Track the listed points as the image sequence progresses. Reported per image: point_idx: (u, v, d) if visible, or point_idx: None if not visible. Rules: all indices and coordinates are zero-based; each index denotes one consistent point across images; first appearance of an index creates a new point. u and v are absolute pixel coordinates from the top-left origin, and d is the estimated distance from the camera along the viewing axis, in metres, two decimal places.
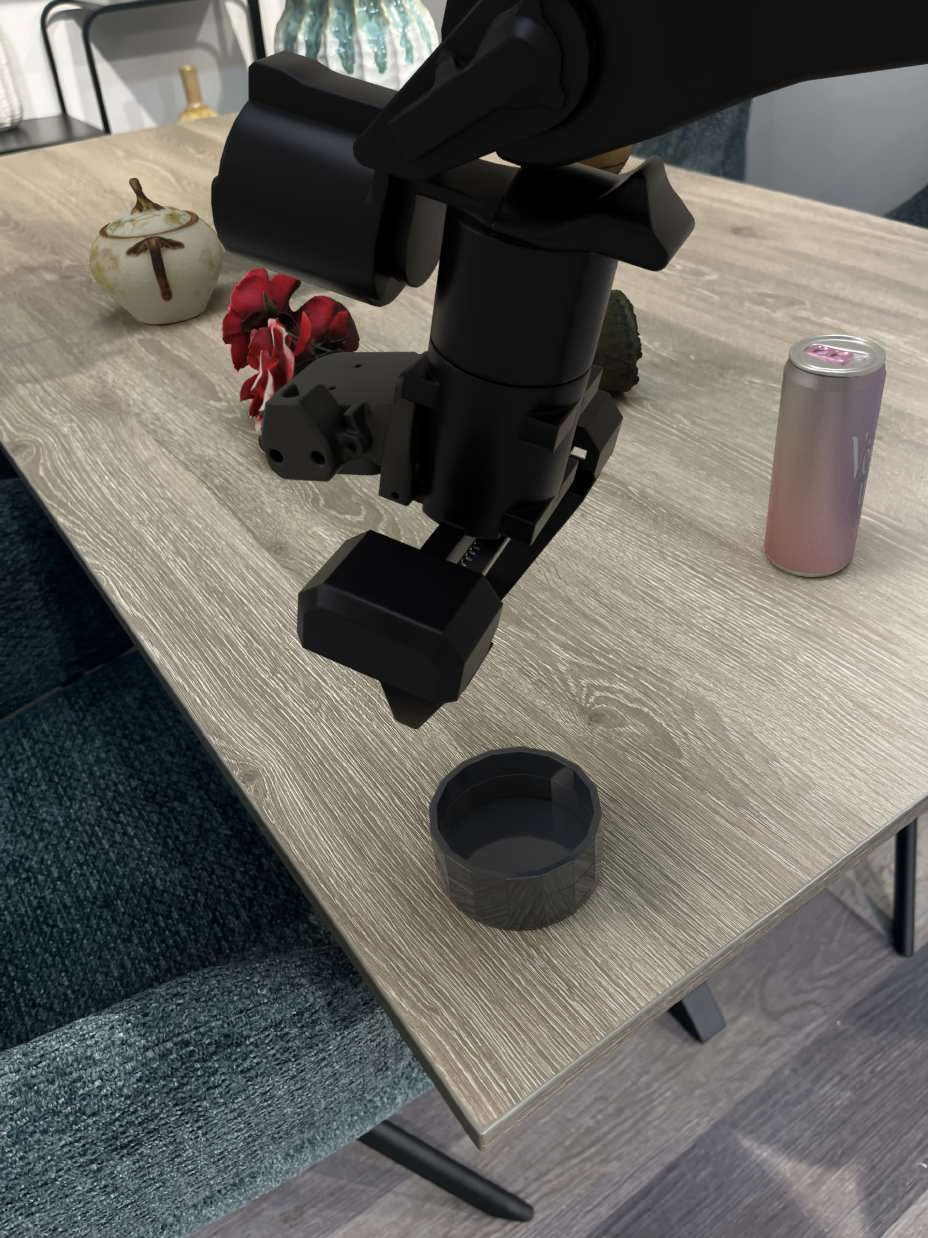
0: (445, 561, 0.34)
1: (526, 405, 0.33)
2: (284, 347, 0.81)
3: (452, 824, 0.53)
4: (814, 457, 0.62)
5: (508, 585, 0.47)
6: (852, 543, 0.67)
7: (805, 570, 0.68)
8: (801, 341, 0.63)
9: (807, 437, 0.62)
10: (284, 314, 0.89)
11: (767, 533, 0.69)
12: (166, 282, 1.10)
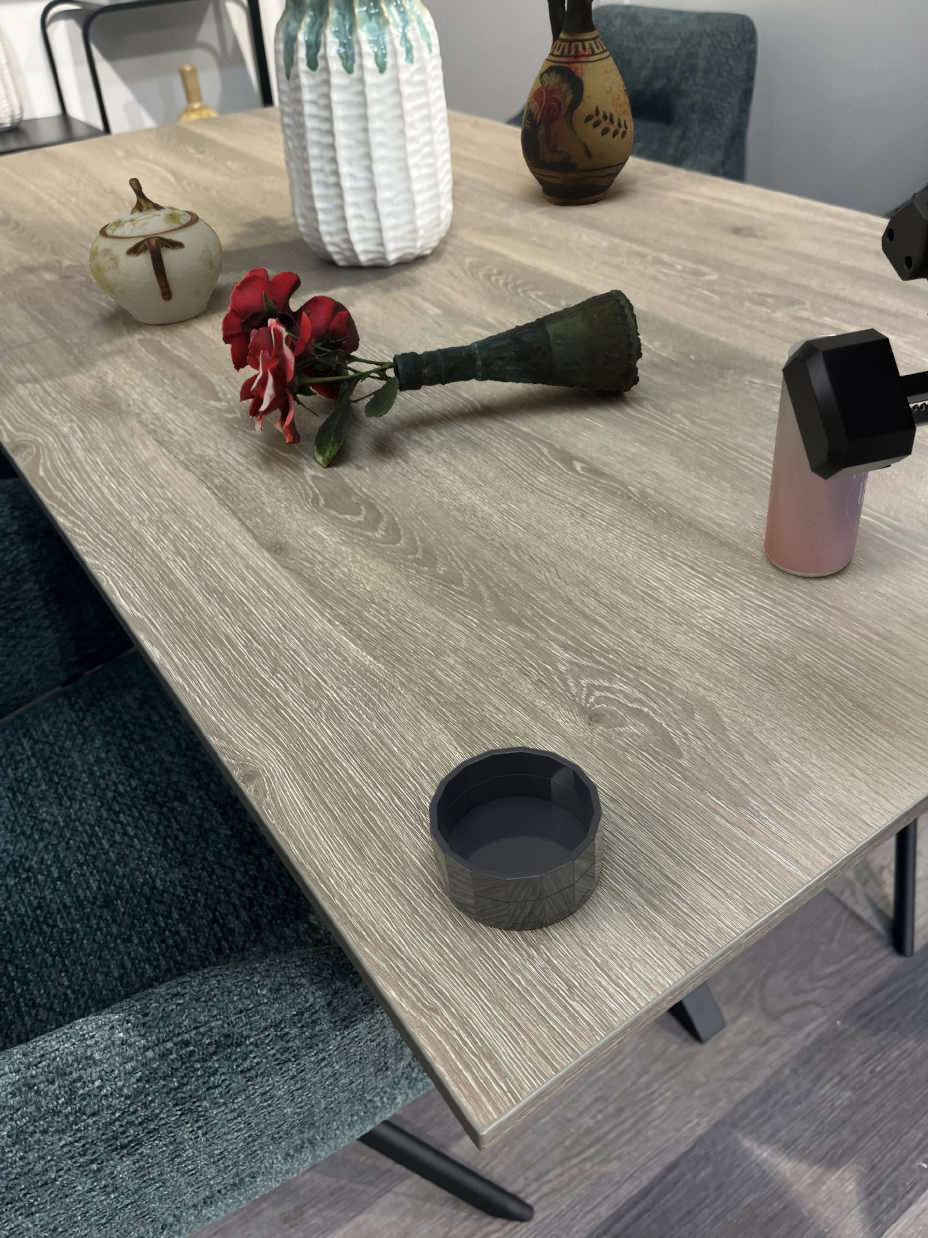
0: (905, 399, 0.45)
1: None
2: (284, 347, 0.81)
3: (452, 824, 0.53)
4: None
5: None
6: (852, 543, 0.67)
7: (805, 570, 0.68)
8: (801, 341, 0.63)
9: None
10: (284, 314, 0.89)
11: (767, 533, 0.69)
12: (166, 282, 1.10)
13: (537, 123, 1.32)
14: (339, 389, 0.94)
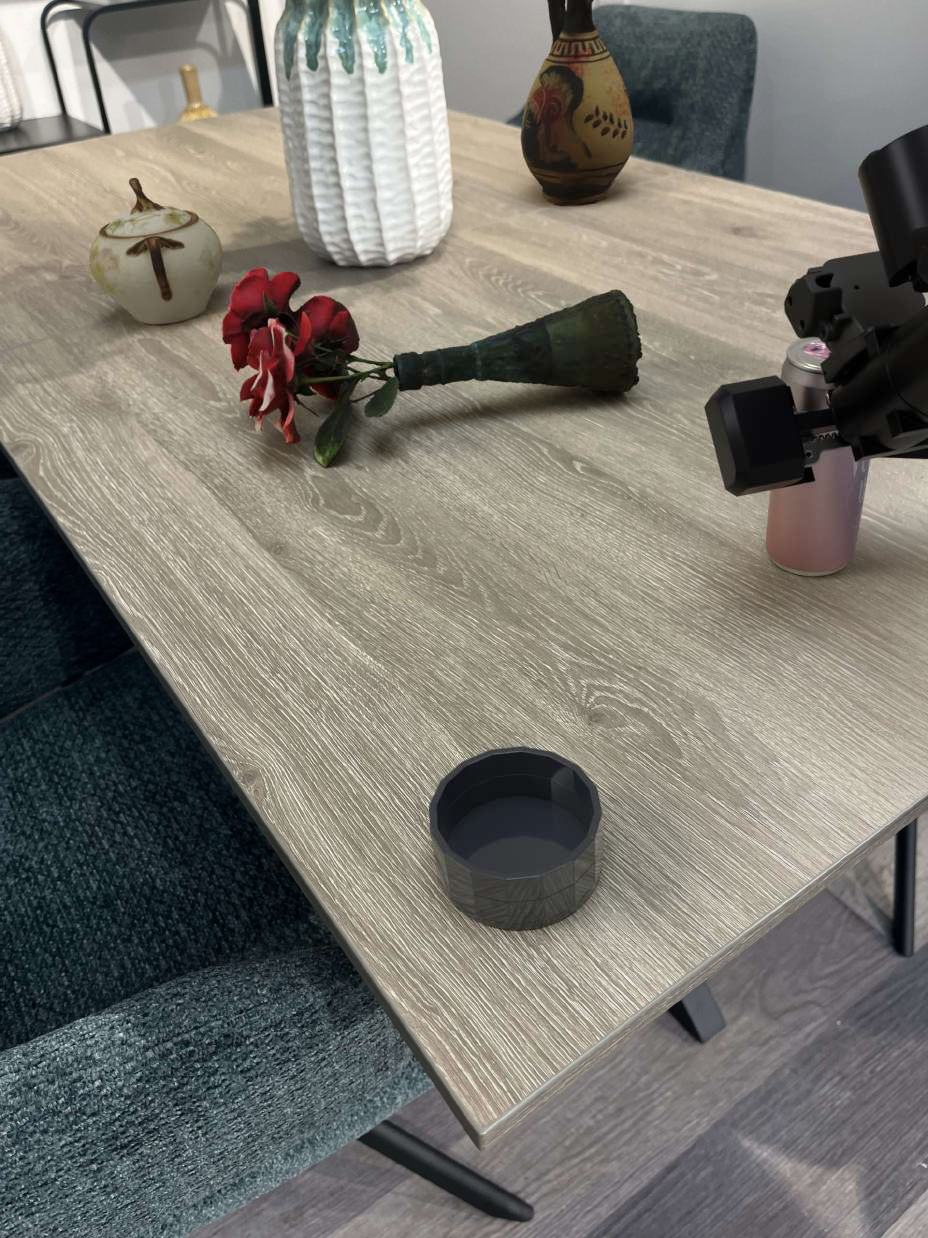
0: (798, 434, 0.56)
1: (899, 407, 0.52)
2: (284, 347, 0.81)
3: (452, 824, 0.53)
4: None
5: None
6: (853, 542, 0.67)
7: (806, 569, 0.68)
8: (799, 340, 0.63)
9: None
10: (284, 314, 0.89)
11: (768, 533, 0.69)
12: (166, 282, 1.10)
13: (537, 123, 1.32)
14: (339, 389, 0.94)
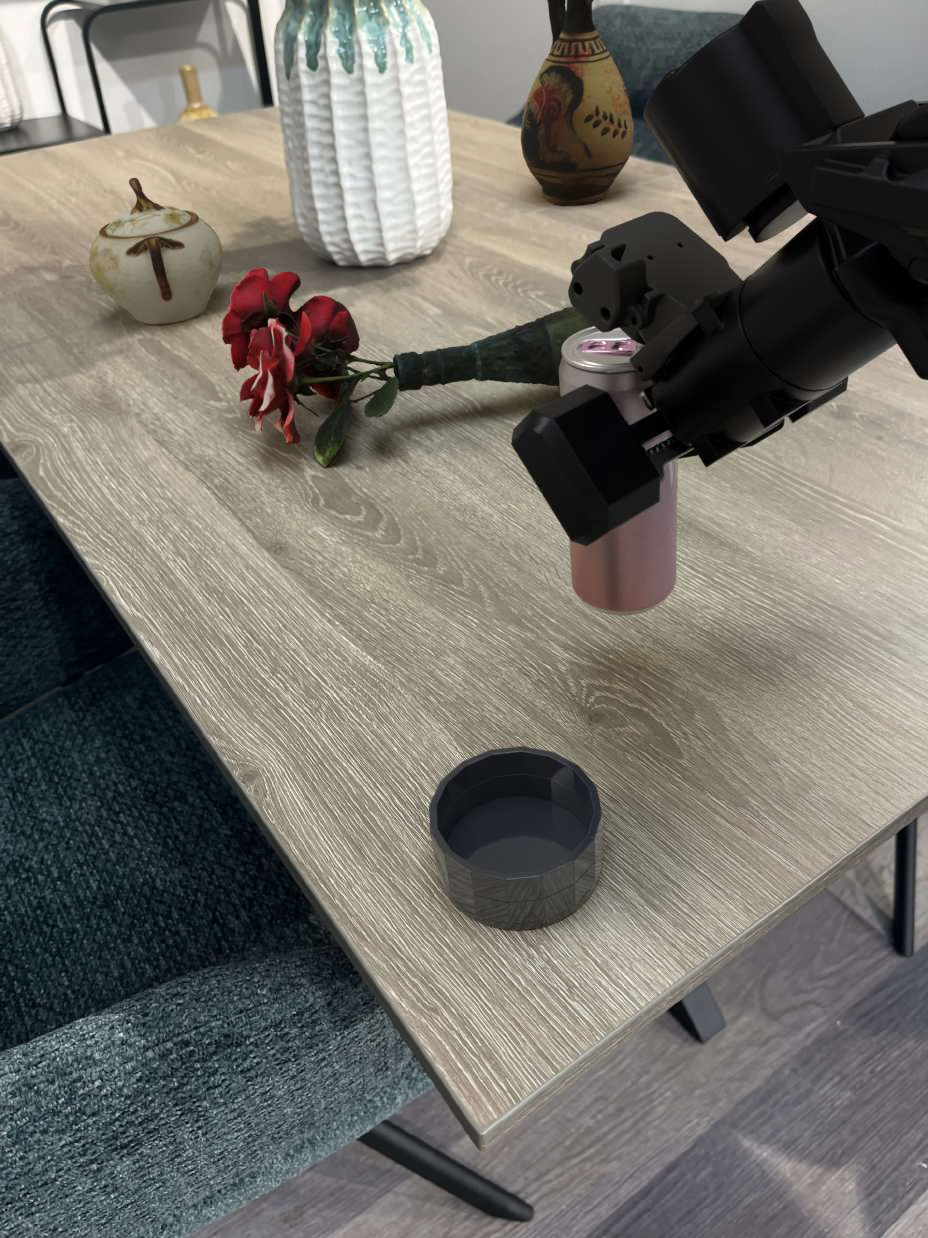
0: (641, 449, 0.44)
1: (771, 387, 0.41)
2: (284, 347, 0.81)
3: (452, 824, 0.53)
4: None
5: None
6: None
7: (638, 607, 0.56)
8: (568, 341, 0.51)
9: None
10: (284, 314, 0.89)
11: (580, 577, 0.56)
12: (166, 282, 1.10)
13: (537, 123, 1.32)
14: (339, 389, 0.94)
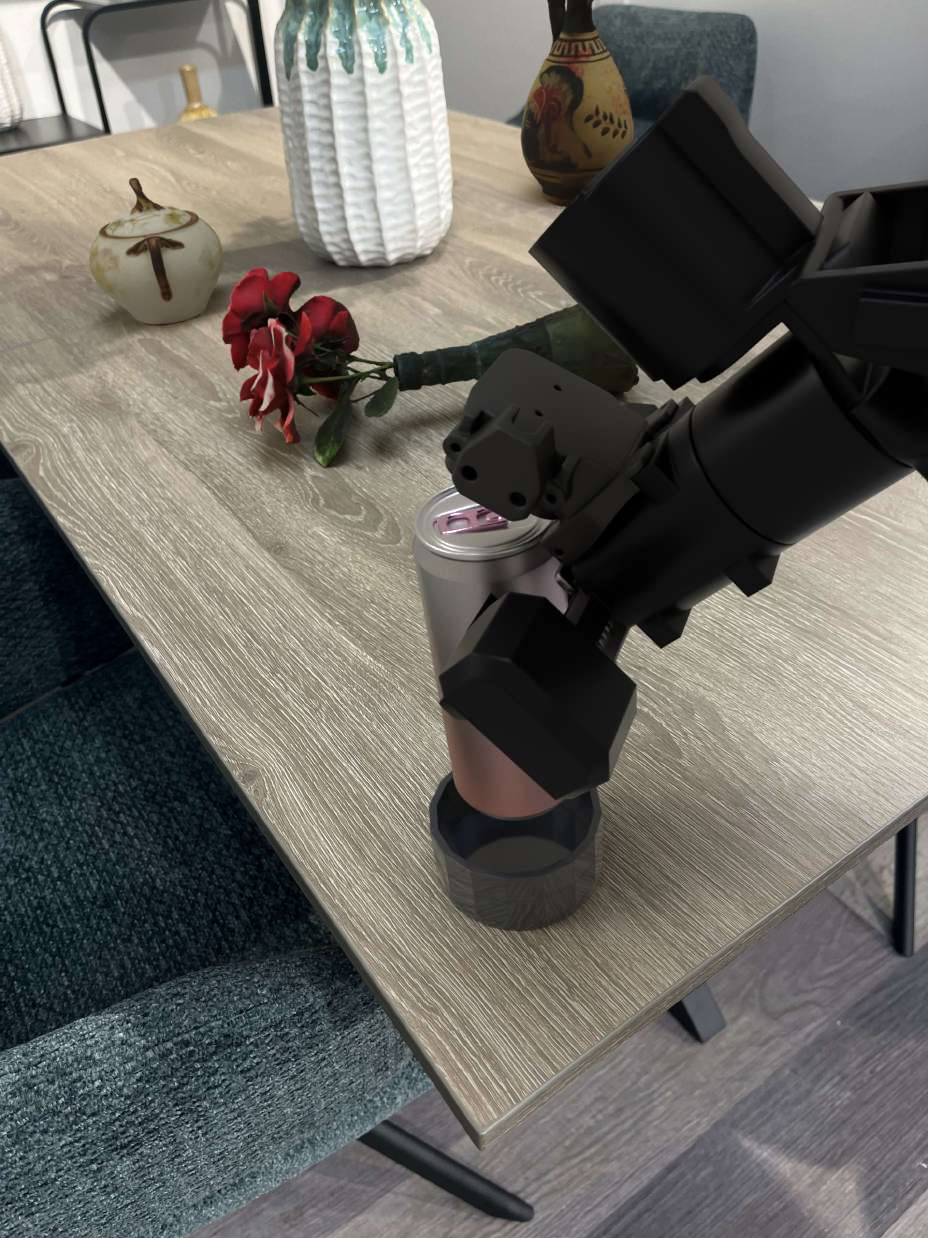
0: (607, 658, 0.34)
1: (755, 551, 0.33)
2: (284, 347, 0.81)
3: (452, 824, 0.53)
4: None
5: None
6: None
7: (555, 802, 0.46)
8: (417, 522, 0.39)
9: None
10: (284, 314, 0.89)
11: (478, 789, 0.45)
12: (166, 282, 1.10)
13: (537, 123, 1.32)
14: (339, 389, 0.94)
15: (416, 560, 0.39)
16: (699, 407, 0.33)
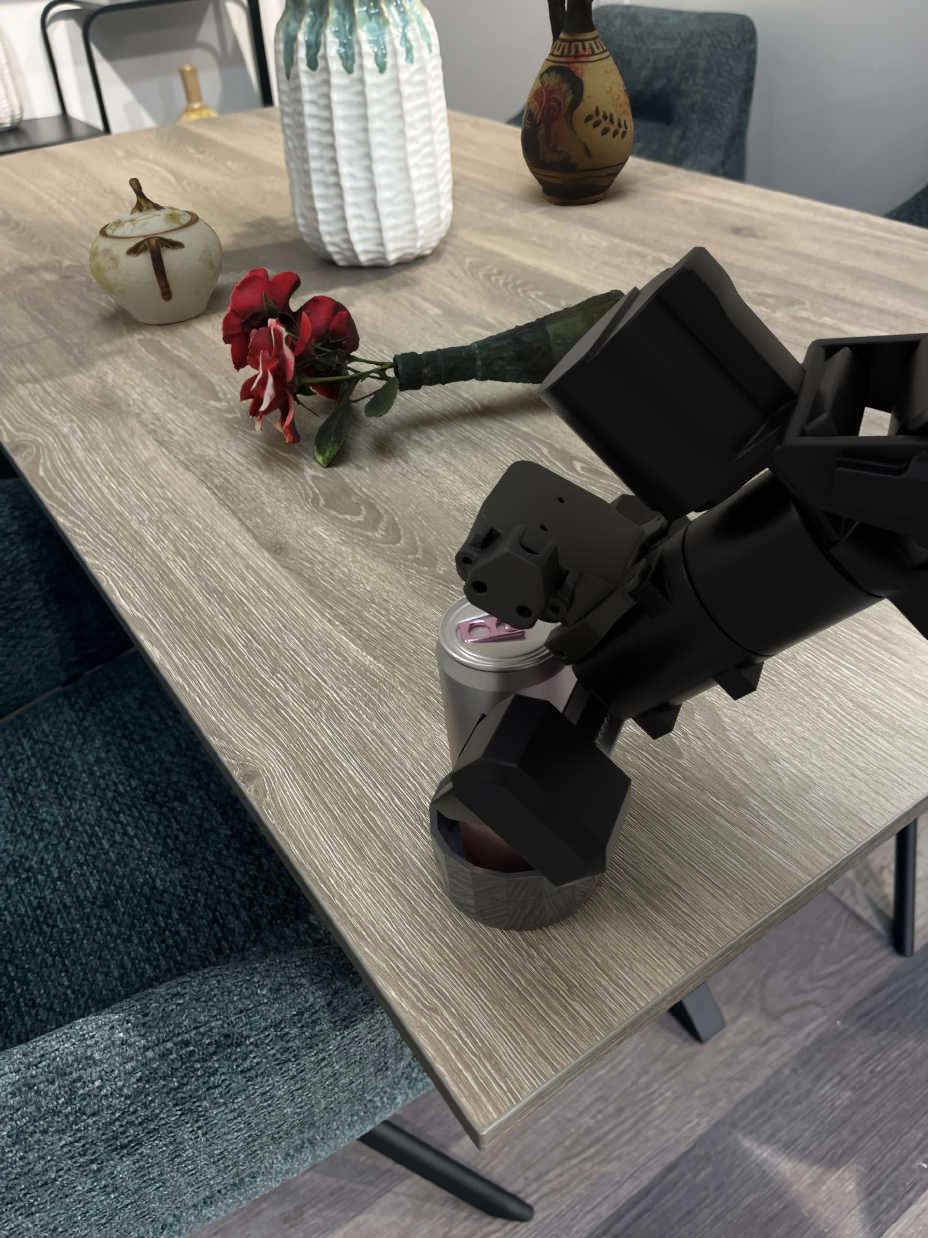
0: (604, 756, 0.36)
1: (741, 662, 0.35)
2: (284, 347, 0.81)
3: (452, 824, 0.53)
4: None
5: None
6: None
7: None
8: (441, 629, 0.42)
9: None
10: (284, 314, 0.89)
11: (488, 866, 0.48)
12: (166, 282, 1.10)
13: (537, 123, 1.32)
14: (339, 389, 0.94)
15: (439, 664, 0.42)
16: (691, 529, 0.35)
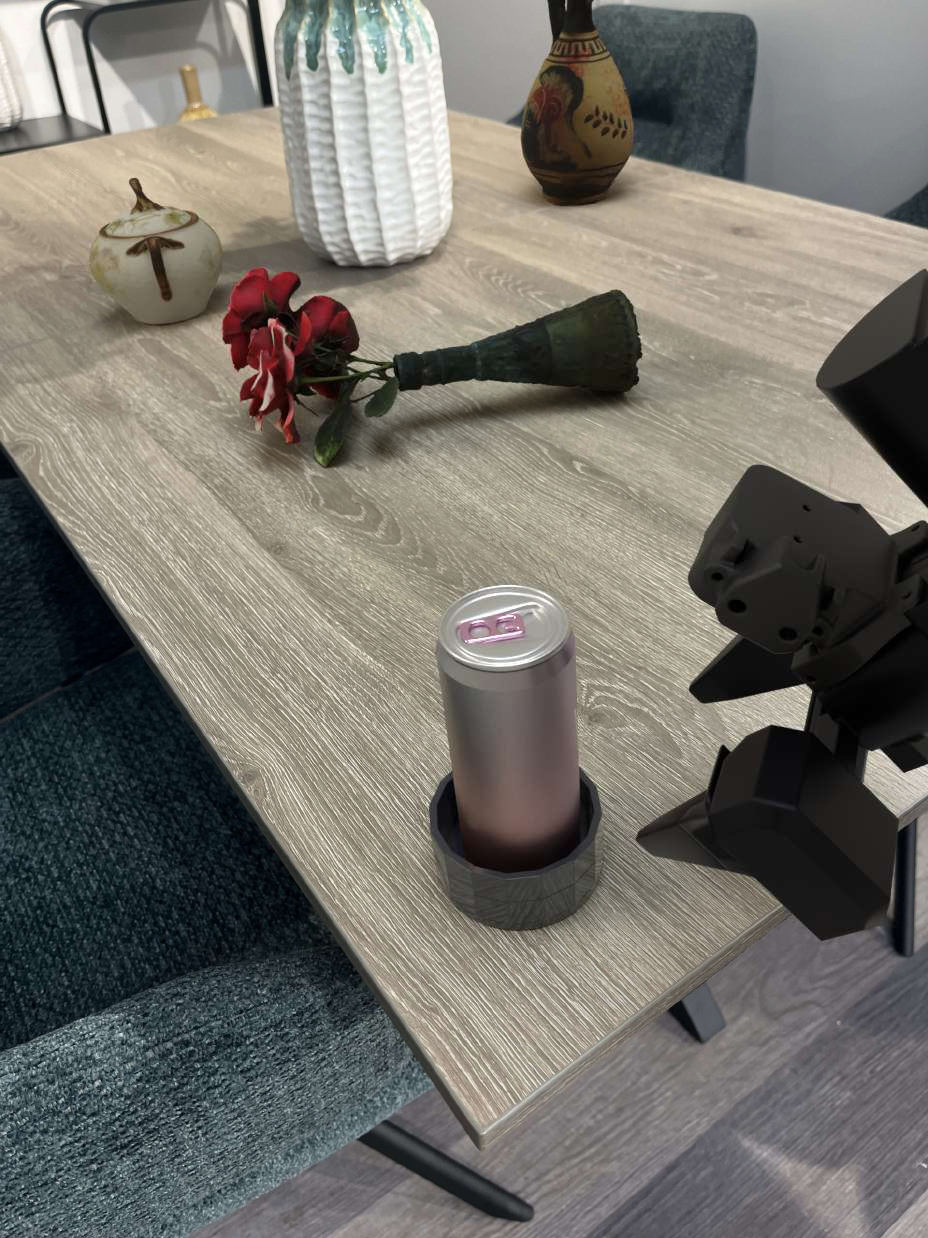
0: (871, 794, 0.33)
1: None
2: (284, 347, 0.81)
3: (452, 824, 0.53)
4: (544, 761, 0.43)
5: (725, 697, 0.46)
6: None
7: None
8: (441, 629, 0.42)
9: (531, 744, 0.43)
10: (284, 314, 0.89)
11: (488, 866, 0.48)
12: (166, 282, 1.10)
13: (537, 123, 1.32)
14: (339, 389, 0.94)
15: (439, 664, 0.42)
16: None
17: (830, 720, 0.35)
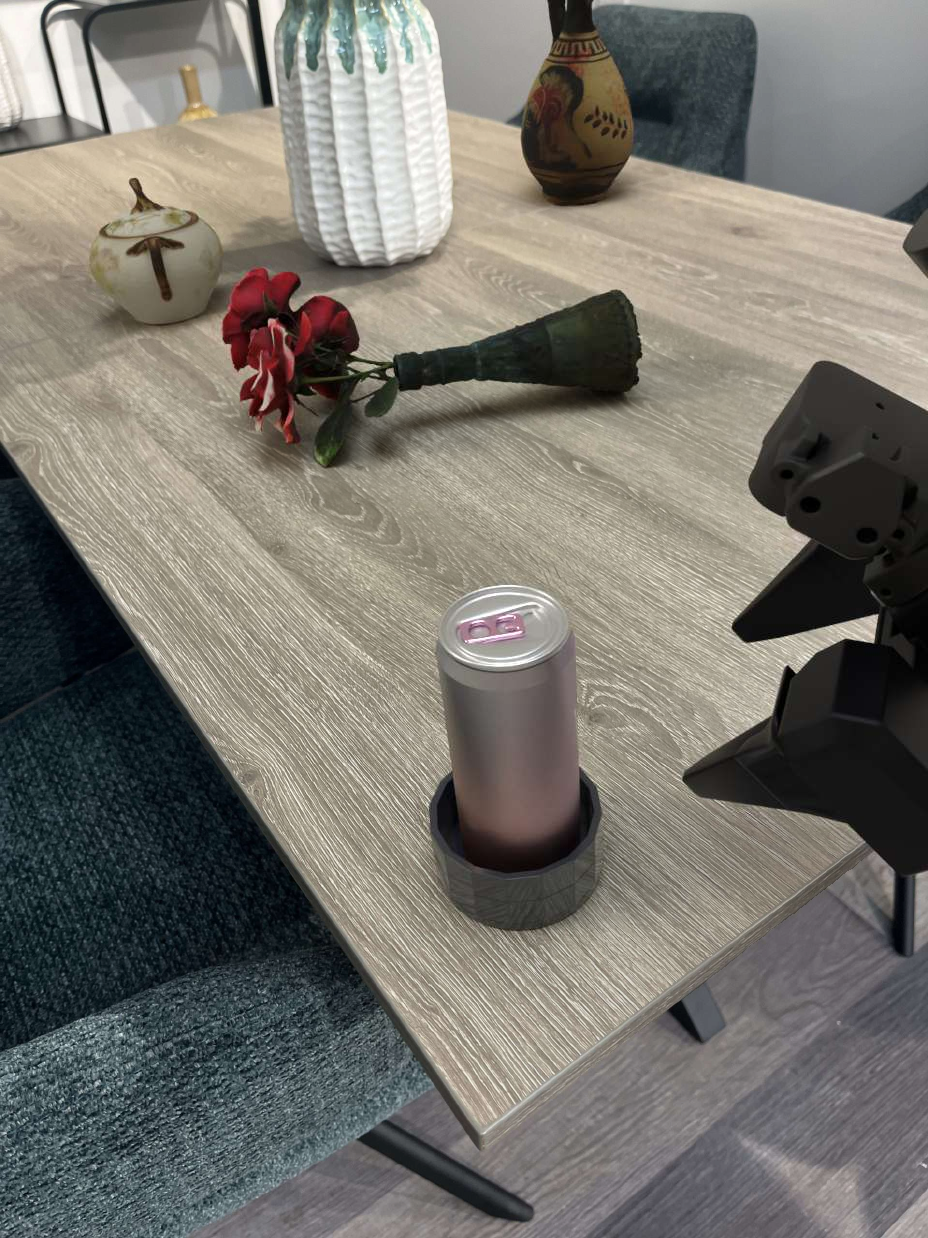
0: None
1: None
2: (284, 347, 0.81)
3: (452, 824, 0.53)
4: (544, 761, 0.43)
5: (772, 635, 0.43)
6: None
7: None
8: (441, 629, 0.42)
9: (531, 744, 0.43)
10: (284, 314, 0.89)
11: (488, 866, 0.48)
12: (166, 282, 1.10)
13: (537, 123, 1.32)
14: (339, 389, 0.94)
15: (439, 664, 0.42)
16: None
17: (904, 640, 0.32)
